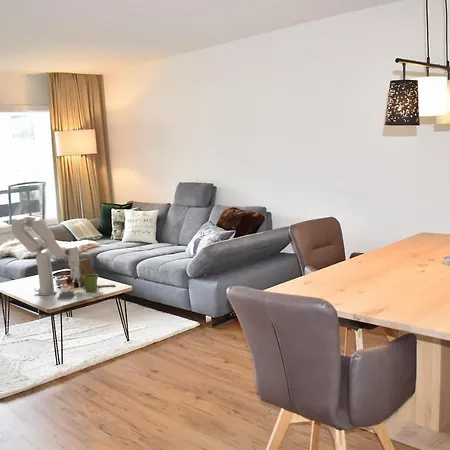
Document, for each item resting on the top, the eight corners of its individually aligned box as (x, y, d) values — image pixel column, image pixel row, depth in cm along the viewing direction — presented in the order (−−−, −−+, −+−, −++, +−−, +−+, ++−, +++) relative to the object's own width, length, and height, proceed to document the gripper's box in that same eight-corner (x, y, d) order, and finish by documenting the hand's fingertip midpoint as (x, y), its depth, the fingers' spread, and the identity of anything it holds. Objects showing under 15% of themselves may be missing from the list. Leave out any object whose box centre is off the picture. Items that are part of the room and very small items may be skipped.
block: (82, 286, 407) (80, 260, 404) (78, 285, 413) (75, 259, 410) (95, 284, 414) (93, 258, 411) (91, 282, 420) (88, 257, 417)
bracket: (94, 287, 403) (94, 286, 403) (95, 286, 406) (95, 285, 405) (114, 286, 403) (114, 285, 403) (115, 285, 406) (115, 284, 406)
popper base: (57, 299, 377) (57, 294, 376) (61, 295, 387) (61, 290, 386) (72, 298, 377) (71, 293, 376) (75, 294, 387) (75, 289, 386)
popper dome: (60, 296, 378) (59, 285, 377) (63, 294, 385) (62, 283, 384) (69, 296, 378) (68, 285, 377) (72, 293, 385) (71, 282, 384)
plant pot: (103, 289, 397) (101, 274, 395) (91, 293, 387) (89, 278, 385) (91, 288, 403) (90, 273, 401) (79, 292, 393) (78, 276, 391)
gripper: (76, 265, 384) (79, 290, 387) (81, 260, 399) (84, 284, 402) (66, 265, 384) (68, 291, 387) (71, 261, 399) (74, 285, 402)
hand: (76, 287), depth 394 cm, fingers closed
